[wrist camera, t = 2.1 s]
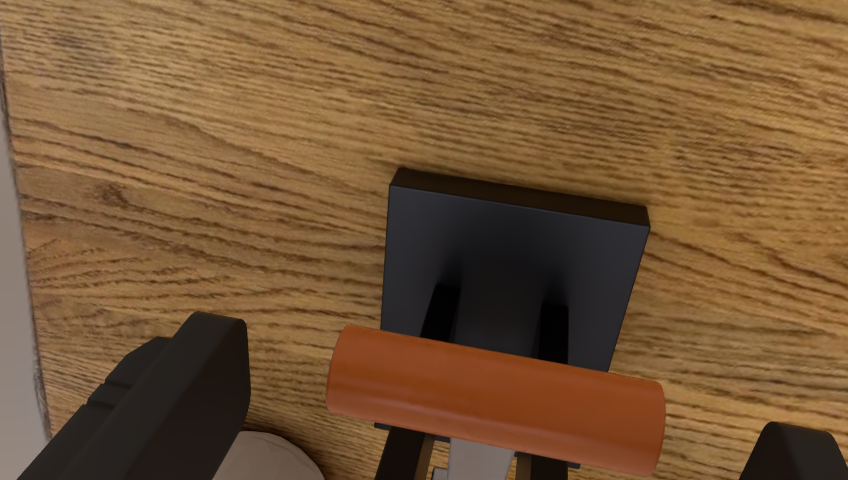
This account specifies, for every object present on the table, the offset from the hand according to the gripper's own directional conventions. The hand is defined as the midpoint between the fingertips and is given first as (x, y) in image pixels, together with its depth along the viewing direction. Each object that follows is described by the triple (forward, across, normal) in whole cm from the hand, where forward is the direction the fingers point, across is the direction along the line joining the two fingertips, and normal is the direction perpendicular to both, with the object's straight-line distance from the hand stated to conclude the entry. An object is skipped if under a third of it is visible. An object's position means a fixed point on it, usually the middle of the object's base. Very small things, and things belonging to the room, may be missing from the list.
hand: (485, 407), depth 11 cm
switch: (+4, 0, +4) cm, 6 cm away
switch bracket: (+14, 0, +9) cm, 17 cm away
